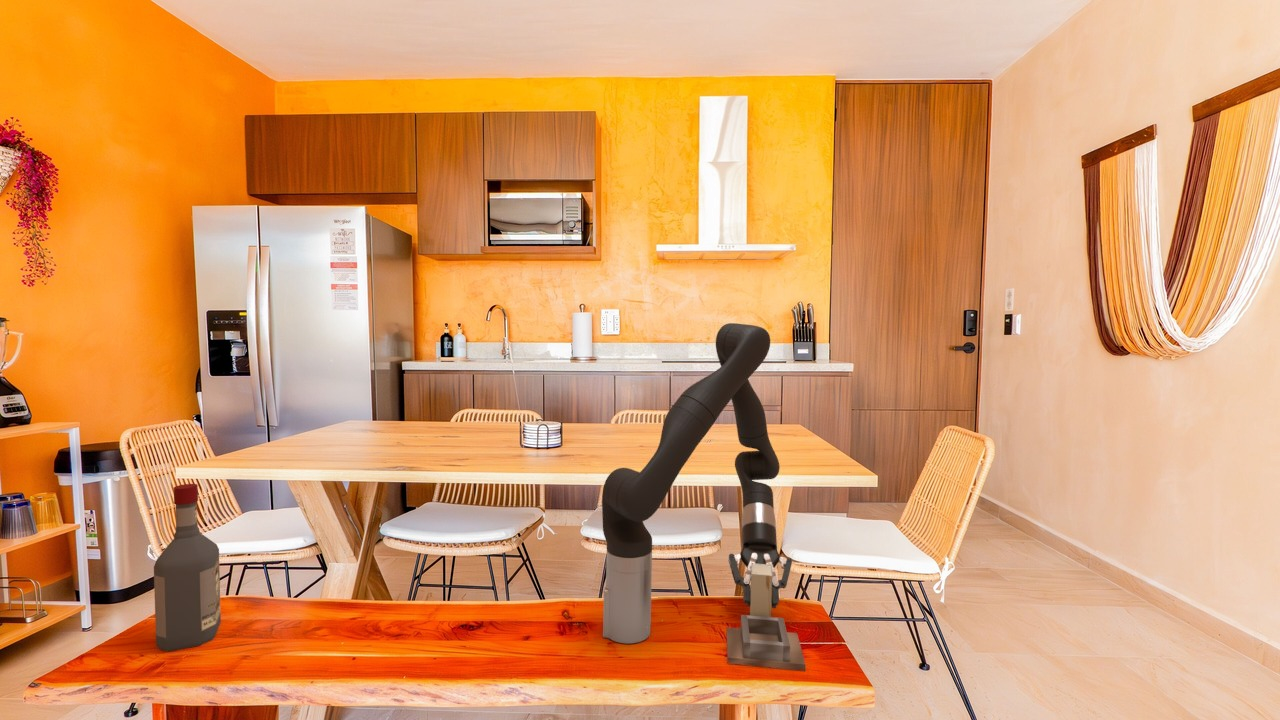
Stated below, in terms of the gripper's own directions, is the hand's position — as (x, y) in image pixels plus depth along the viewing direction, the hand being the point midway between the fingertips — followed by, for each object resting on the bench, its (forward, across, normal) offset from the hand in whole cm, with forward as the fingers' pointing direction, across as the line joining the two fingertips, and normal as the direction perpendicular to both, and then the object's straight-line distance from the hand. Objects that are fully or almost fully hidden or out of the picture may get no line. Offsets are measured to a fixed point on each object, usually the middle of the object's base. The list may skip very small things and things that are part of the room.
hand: (761, 605), depth 119 cm
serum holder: (+9, 0, -2) cm, 9 cm away
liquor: (+19, -111, -11) cm, 113 cm away
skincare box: (+3, 0, +5) cm, 6 cm away
